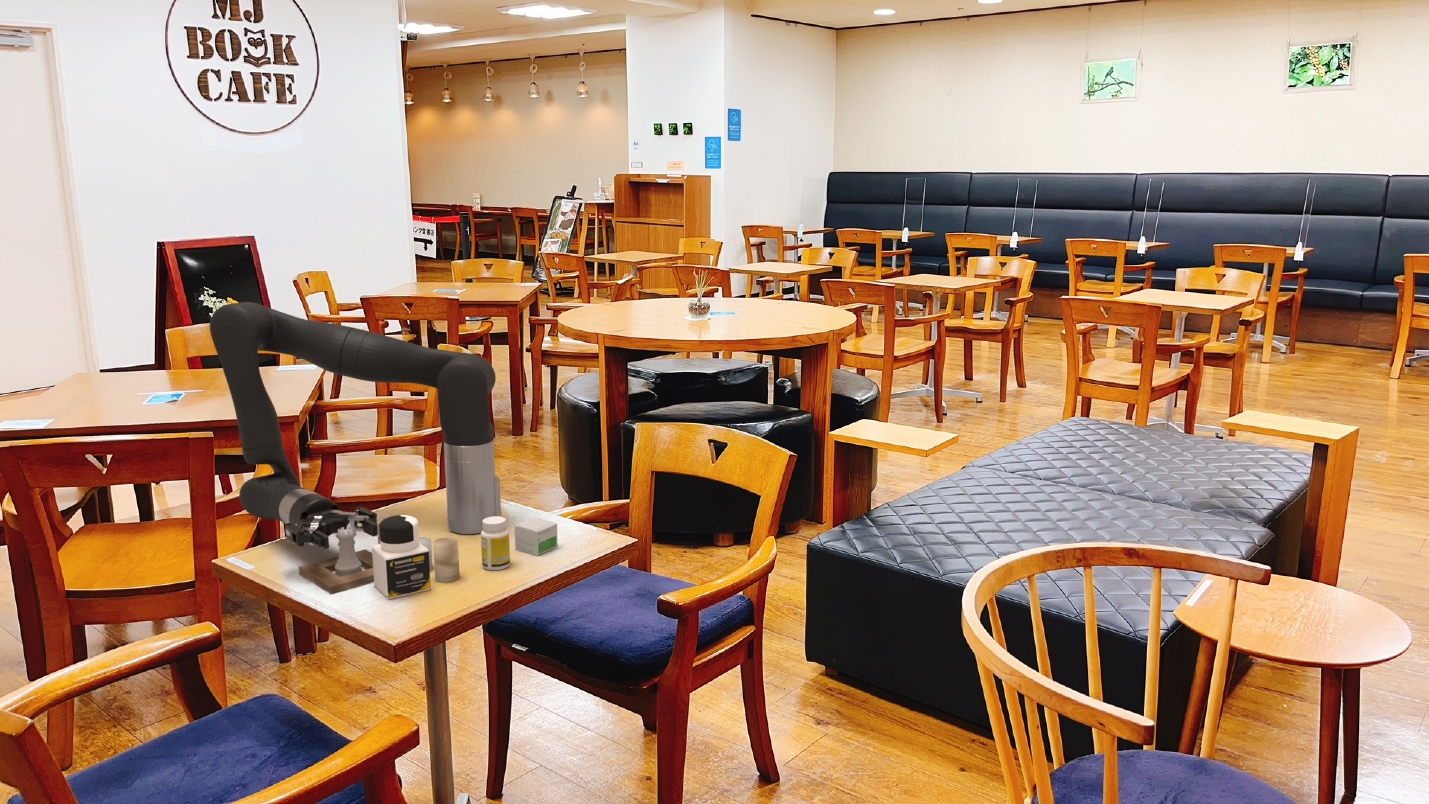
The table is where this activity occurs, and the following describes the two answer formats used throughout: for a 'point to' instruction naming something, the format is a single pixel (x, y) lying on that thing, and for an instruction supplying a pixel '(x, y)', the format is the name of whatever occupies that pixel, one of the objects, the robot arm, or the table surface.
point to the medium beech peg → (446, 560)
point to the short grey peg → (427, 544)
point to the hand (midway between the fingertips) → (351, 536)
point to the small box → (536, 536)
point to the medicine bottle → (400, 558)
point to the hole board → (333, 583)
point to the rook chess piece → (347, 553)
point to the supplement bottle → (495, 543)
